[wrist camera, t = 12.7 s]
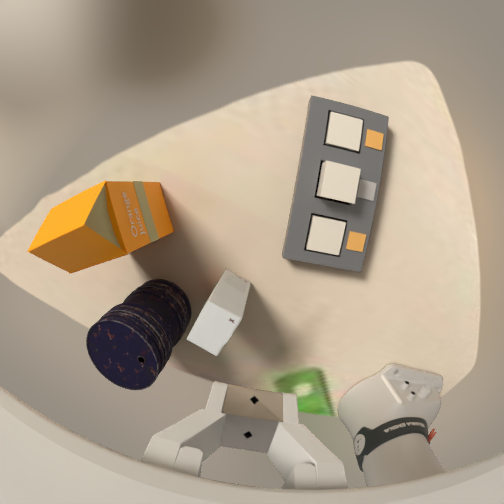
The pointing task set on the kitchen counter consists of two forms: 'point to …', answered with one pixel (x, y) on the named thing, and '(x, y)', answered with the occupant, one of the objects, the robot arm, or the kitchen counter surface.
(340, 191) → the middle button
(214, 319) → the skincare box
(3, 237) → the kitchen counter surface
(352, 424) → the robot arm
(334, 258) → the button panel
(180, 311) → the dark blue cylinder
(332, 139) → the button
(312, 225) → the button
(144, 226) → the orange juice
